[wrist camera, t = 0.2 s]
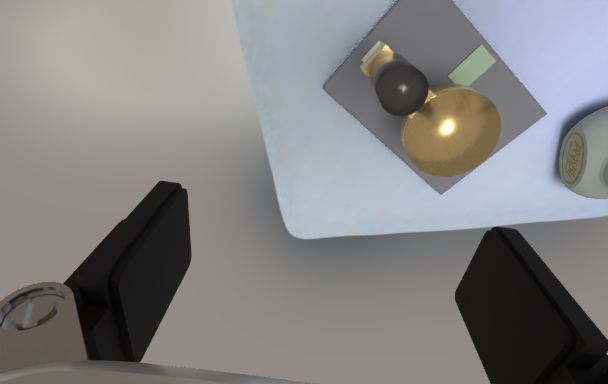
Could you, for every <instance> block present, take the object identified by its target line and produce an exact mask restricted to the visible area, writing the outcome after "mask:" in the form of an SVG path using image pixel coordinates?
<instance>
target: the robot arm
mask: <svg viewBox="0 0 608 384" xmlns="http://www.w3.org/2000/svg"><path fill="white" fill-rule="evenodd" d="M190 261H191V242H190V226H189V211H188V195H187V190H186V189H183V188H182V187H181V184H179V183H174V182H166V181H160V182H158V183H157V184H156V186H155V187H154V188H153V189H152V190H151V191H150V192H149V193H148V195H147V196H146V197H145V198H144V199H143V200H142V201H141V202H140V203H139V205H137V207H136V208H135V209H134V210H133V211H132V212H131V213H130V214H129V216H128V217H127V218H126V219H124V220H122V221H121V222H119V223H118V225H116V227H115V228H114V229H113V230H112V231H111V232H110V233H109V234H108V235H107V236H106V238H105V239H104V240H103V241H102V242H101V243H100V244H99V245H98V246H97V248H95V249H94V251H93V252H92V253H91V254H90V255H89V256H88V257H87V258H86V260H84V262H83V263H82V264H81V265H80V266H79V267H78V268H77V269H76V270H75V271H74V272H73V274H72V275H71V276H70V277H69V278H68V279H67V280H66V281H65V282H64V283H63V284H62V283H57V282H42V283H37V284H33V285H29V286H27V287H24V288H21V289H19V290H17V291H15V292H13V293H12V294H10V295H8V296H6V297H5V298H4V299H3V300H1V301H0V384H318V383H310V382H302V381H294V380H286V379H277V378H269V377H261V376H253V375H245V374H237V373H228V372H220V371H212V370H204V369H194V368H185V367H176V366H166V365H157V364H147V363H139V362H140V361H141V360H142V358H143V356H144V354H145V352H146V350H147V348H148V346H149V344H150V342H151V340H152V338H153V336H154V334H155V332H156V331H157V329H158V327H159V325H160V322H161V321H162V319H163V317H164V315H165V313H166V311H167V309H168V307H169V305H170V303H171V301H172V299H173V297H174V295H175V293H176V291H177V289H178V287H179V285H180V283H181V281H182V279H183V277H184V275H185V273H186V271H187V269H188V267H189V265H190ZM455 300H456V303H457V306H458V308H459V310H460V313H461V315H462V317H463V320H464V322H465V324H466V327H467V329H468V331H469V334H470V336H471V339H472V341H473V343H474V346H475V348H476V350H477V353H478V355H479V357H480V360H481V362H482V364H483V367H484V369H485V372H486V374H487V376H488V379H489V381H490V383H491V384H608V355H607V354H606V353H607V351H608V340H607V339H606V337H605V336H604V335H603V334H602V333H601V332H600V330H599V329H598V328H597V327H596V325H595V324H594V323H593V322H592V320H591V319H590V318H589V317H588V316H587V314H586V313H585V312H584V311H583V309H582V308H581V307H580V306H579V305H578V303H577V302H576V301H575V300H574V298H573V297H572V296H571V295H570V294H569V292H568V291H567V290H566V289H565V287H564V286H563V285H562V284H561V283H560V281H559V280H558V279H557V278H556V277H555V275H554V274H553V273H552V272H551V270H550V269H549V268H548V267H547V266H546V264H545V263H544V262H543V261H542V259H541V258H540V257H539V256H538V255H537V253H536V252H535V251H534V250H533V248H532V247H531V246H530V245H529V244H528V242H527V241H526V240H525V239H524V238H523V236H522V235H521V234H520V233H519V232H518V231H517V230H516V229H511V228H504V227H494V228H492V229H491V230H489V231H487V232H486V233H485V234H484V236H483V239H482V240H481V242H480V244H479V246H478V248H477V250H476V252H475V254H474V256H473V258H472V260H471V262H470V264H469V266H468V268H467V270H466V272H465V274H464V276H463V278H462V280H461V282H460V284H459V286H458V288H457V289H456V292H455Z"/></svg>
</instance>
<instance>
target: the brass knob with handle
mask: <svg viewBox="0 0 608 384" xmlns="http://www.w3.org/2000/svg"><path fill="white" fill-rule="evenodd" d="M360 67H361V70H362V72H363V73H365V74H366V75H367V76H368V77H369V78H370V82H371V84H372V86H373V89H374V91H375V93H376V95H377V97H378V99H379V101H380V103H381V105H382V107H383V109H384V110H385V111H386V112H388V113H389V114H391V115H394V116H404V117H403V120H402V123H401V140H402V144H403V146H404V148H405V150H406V152H407V154H408V156H409V158H410V160H411V161H412V163H413V164H414V165H415V166H416V167H417V168H418V169H419V170H421V171H423V172H424V173H427V174H429V175H433V176H439V177H449V176H455V175H459V174H463V173H465V172H468V171H470V170H472V169H473V168H475V167H476V166H478V165H479V164H481V163H482V162H483V161H484V160H485V159H486V158H487V157H488V156H489V155H490V154H491V152H492V151H493V149H494V148H495V146H496V144H497V142H498V140H499V136H500V132H501V119H500V115H499V112H498V110H497V108H496V106H495V105H494V104H493V102H492V101H491V100H489V99H488V98H487V97H485V96H484V95H482V94H481V93H479V92H478V91H476V90H475V89H473V88H471V87H469V86H466V85H463V84H444V85H440V86H436V87H434V88H431V89H429V84H428V81H427V78H426V77H425V75H424V74H423V73H422V72H421V71H420V70H418V69H417V68H416V67H415V66H414V65H412V64H411V63H410V62H409V61H408V60H407V59H405V58H404V57H403V56H402V55H400V54H397V53H394V52H393V51H392V50H391V49H390V48H389V47H388V46H387V45H386V44H385V43H383V42H382V43H381V44H380V45H379V46H378V47H377V48H376V50H375V51H374V52H373V53H372V54H371V55H370V56H369V57H368V58H367V59H366V61H365V62H364V63H363V64H362V65H361V66H360Z"/></svg>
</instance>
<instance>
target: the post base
mask: <svg viewBox="0 0 608 384" xmlns="http://www.w3.org/2000/svg"><path fill="white" fill-rule="evenodd" d="M382 42H383V43H385V44H386V45H387V46H388V47H389V48H390V49H391V50H392V51H393V52H394V53H397V54H400V55H402V56H403V57H404V58H405V59H407V60H408V61H409V62H410V63H411V64H412V65H414V66H415V67H416V68H417V69H418V70H420V71H421V72H422V73H423V74H424V75H425V77H426V78H427V81H428V84H429V89H431V88H434V87H436V86H440V85H444V84H463V85H466V86H469V87H471V88H473V89H475V90H476V91H478V92H479V93H481V94H482V95H484V96H485V97H487V98H488V99H489V100H491V101H492V102H493V104H494V105H495V106H496V108H497V110H498V112H499V115H500V119H501V132H500V136H499V140H498V142H497V144H496V146H495V148H494V149H493V151H492V152H491V154H490V155H489V156H488V157H487V158H486V159H485V160H484V161H483V162H485V161H486V160H487V159H489V158H490V157H491V156H493V155H494V154H495V153H496V152H498V151H499V150H500V149H502V148H503V147H504V146H506V145H507V144H508V143H510V142H511V141H512V140H513V139H515V138H516V137H517V136H519V135H520V134H521V133H523V132H524V131H525V130H527V129H528V128H529V127H530V126H532V125H533V124H534V123H536V122H537V121H538V120H540V119H541V118H542V117H544V116H545V115H546V114H547V113H546V112H545V110H544V109H543V108H542V107H541V106H540V104H539V103H538V102H537V101H536V100H535V99H534V97H533V96H532V95H531V94H530V93H529V91H528V90H527V89H526V88H525V87H524V85H523V84H522V83H521V82H520V81H519V80H518V78H517V77H516V76H515V75H514V74H513V72H512V71H511V70H510V69H509V68H508V66H507V65H506V64H505V63H504V62H503V61H502V59H501V58H500V57H499V56H498V55H497V53H496V52H495V51H494V50H493V49H492V47H491V46H490V45H489V44H488V43H487V42H486V40H485V39H484V38H483V37H482V36H481V34H480V33H479V32H478V31H477V30H476V28H475V27H474V26H473V25H472V24H471V23H470V21H469V20H468V19H467V18H466V17H465V15H464V14H463V13H462V12H461V11H460V9H459V8H458V7H457V6H456V5H455V4H454V2H453V1H452V0H398V1H397V2H396V3H395V4H394V5H393V6H392V8H391V9H390V10H389V11H388V12H387V13H386V14H385V16H384V17H383V18H382V19H381V20H380V21H379V23H378V24H377V25H376V26H375V27H374V28H373V29H372V31H371V32H370V33H369V34H368V35H367V36H366V37H365V39H364V40H363V41H362V42H361V43H360V44H359V45H358V47H357V48H356V49H355V50H354V51H353V52H352V53H351V55H350V56H349V57H348V58H347V59H346V60H345V61H344V63H343V64H342V65H341V66H340V67H339V68H338V69H337V71H336V72H335V73H334V74H333V75H332V76H331V77H330V79H329V80H328V81H327V82H326V83H325V84H324V86H323V89H324V90H325V91H326V92H327V93H328V94H329V95H331V96H332V97H333V98H334V99H335V100H336V101H337V102H338V103H339V104H341V105H342V106H343V107H344V108H345V109H346V110H347V111H348V112H349V113H351V114H352V115H353V116H354V117H355V118H356V119H357V120H358V121H359V122H360V123H362V124H363V125H364V126H365V127H366V128H367V129H368V130H369V131H370V132H372V133H373V134H374V135H375V136H376V137H377V138H378V139H379V140H380V141H382V142H383V143H384V144H385V145H386V146H387V147H388V148H389V149H390V150H392V151H393V152H394V153H395V154H396V155H397V156H398V157H399V158H400V159H401V160H403V161H404V162H405V163H406V164H407V165H408V166H409V167H410V168H411V169H413V170H414V171H415V172H416V173H417V174H418V175H419V176H420V177H421V178H423V179H424V180H425V181H426V182H427V183H428V184H429V185H430V186H431V187H432V188H434V189H435V190H436V191H437V192H438V193H439V194H440V195H442V194H443V193H444V192H446V191H447V190H448V189H449V188H451V187H452V186H453V185H455V184H456V183H457V182H459V181H460V180H461V179H462V178H464V177H465V176H466V175H468V174H469V173H470V172H472V171H473V170H474V169H476V168H477V167H478V166H479V165H481V164H482V163H483V162H482V163H481V164H479V165H478V166H476V167H475V168H473V169H472V170H470V171H468V172H465V173H463V174H459V175H455V176H449V177H439V176H433V175H429V174H427V173H424V172H423V171H421V170H419V169H418V168H417V167H416V166H415V165H414V164H413V163H412V161H411V160H410V158H409V156H408V154H407V152H406V150H405V148H404V146H403V144H402V140H401V123H402V120H403V117H404V116H394V115H391V114H389V113H388V112H386V111H385V110H384V109H383V107H382V105H381V103H380V101H379V99H378V97H377V95H376V93H375V91H374V89H373V86H372V84H371V82H370V78H369V77H368V76H367V75H366V74H365V73H363V72H362V70H361V67H360V66H361V65H362V64H363V63H364V62H365V61H366V59H367V58H368V57H369V56H370V55H371V54H372V53H373V52H374V51H375V50H376V48H377V47H378V46H379V45H380V44H381V43H382Z"/></svg>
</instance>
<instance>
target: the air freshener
mask: <svg viewBox="0 0 608 384" xmlns="http://www.w3.org/2000/svg"><path fill="white" fill-rule="evenodd" d="M559 171H560V176H561V180H562V182H563V184H564V185H565V186H566V187H567V188H568V189H569V190H571V191H572V192H574V193H576V194H578V195H581V196H584V197H587V198H594V199H608V107H605V108H602V109H600V110H598V111H595V112H593V113H592V114H590V115H588V116H586V117H585V118H584V119H582V120H581V121H579V122H578V123H577V124H576V125H575V126H574V127H573V128H572V129H571V130H570V131H569V132H568V133H567V135H566V136H565V138H564V140H563V143H562V146H561V150H560V156H559Z"/></svg>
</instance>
